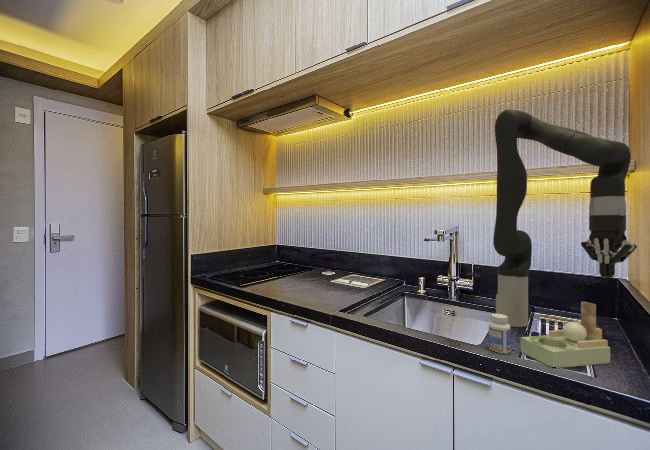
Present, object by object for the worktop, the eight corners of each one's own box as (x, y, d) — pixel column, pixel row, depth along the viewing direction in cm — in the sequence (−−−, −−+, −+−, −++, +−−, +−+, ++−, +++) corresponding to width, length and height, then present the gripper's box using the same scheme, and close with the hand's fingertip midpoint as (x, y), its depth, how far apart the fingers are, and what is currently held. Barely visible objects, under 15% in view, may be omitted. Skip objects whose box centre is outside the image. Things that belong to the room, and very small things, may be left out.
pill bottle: (502, 346, 89) (503, 312, 89) (515, 354, 84) (515, 318, 84) (484, 346, 89) (484, 312, 89) (495, 354, 84) (495, 318, 84)
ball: (558, 338, 84) (558, 320, 84) (573, 337, 85) (573, 319, 85) (575, 345, 80) (576, 326, 80) (592, 344, 80) (592, 324, 80)
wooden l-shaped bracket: (575, 335, 86) (575, 300, 86) (579, 335, 86) (579, 300, 86) (598, 343, 80) (598, 306, 80) (601, 343, 80) (602, 305, 80)
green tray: (520, 351, 85) (520, 331, 85) (572, 347, 88) (572, 328, 88) (553, 368, 75) (553, 345, 75) (610, 362, 78) (610, 341, 78)
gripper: (572, 214, 90) (572, 273, 90) (623, 212, 77) (623, 282, 77) (593, 214, 92) (593, 273, 92) (647, 213, 79) (647, 281, 79)
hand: (606, 277), depth 84 cm, fingers closed
